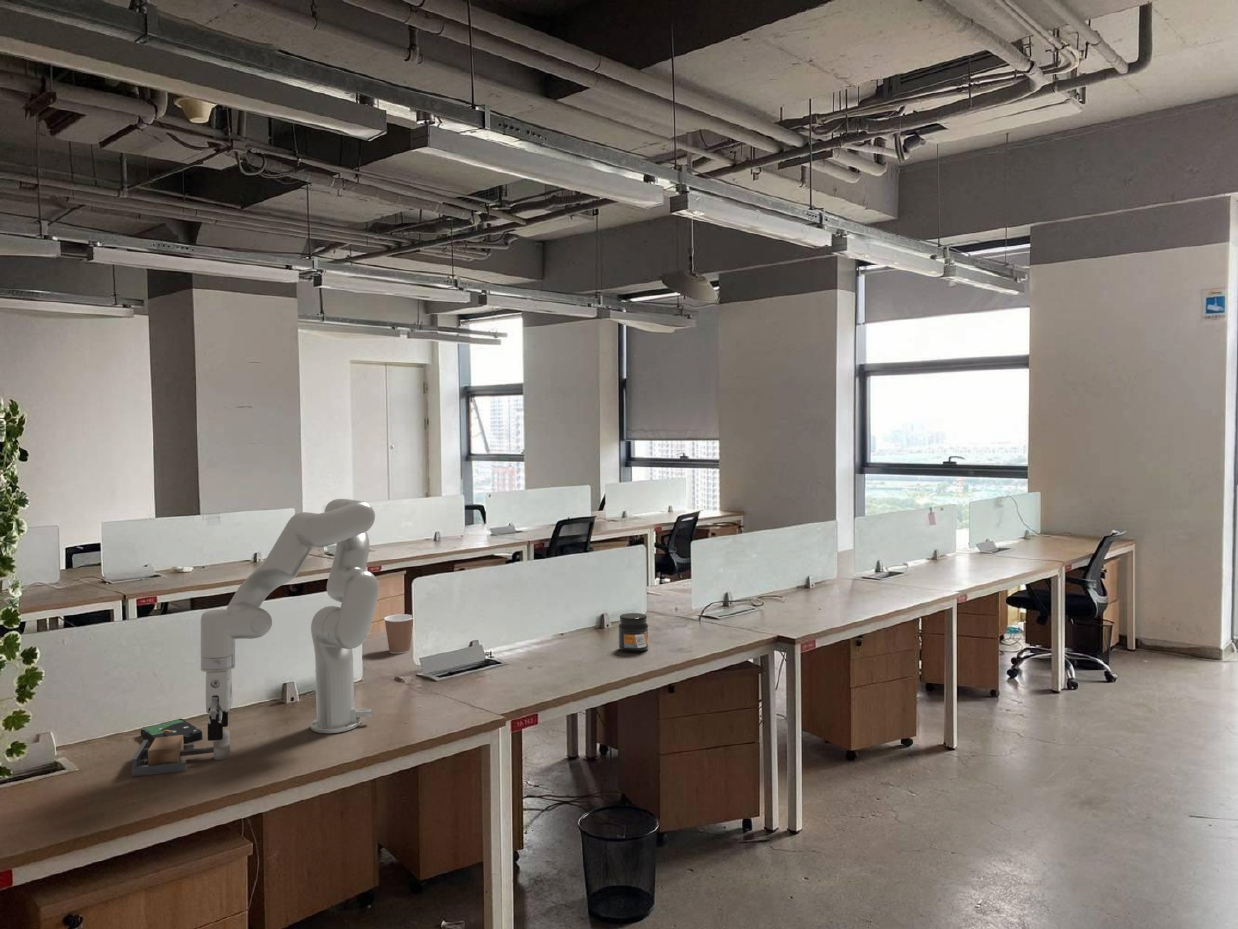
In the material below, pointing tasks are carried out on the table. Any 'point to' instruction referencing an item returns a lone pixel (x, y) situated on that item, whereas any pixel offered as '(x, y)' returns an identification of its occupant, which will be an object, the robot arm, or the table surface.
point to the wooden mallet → (174, 750)
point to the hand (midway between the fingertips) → (218, 733)
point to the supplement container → (633, 633)
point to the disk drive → (172, 731)
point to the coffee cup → (399, 632)
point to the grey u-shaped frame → (142, 769)
